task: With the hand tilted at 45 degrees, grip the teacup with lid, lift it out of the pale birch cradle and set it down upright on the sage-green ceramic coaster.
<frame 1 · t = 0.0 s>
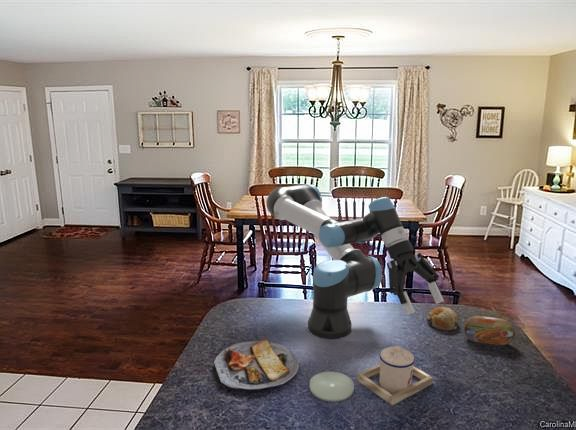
hand: (426, 308, 131), 15 cm above the kitchen counter, tool tilted 35°, fingers open, 13 cm apart
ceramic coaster: (331, 387, 118), on the kitchen counter
food plate: (256, 369, 128), on the kitchen counter
wooden cradle: (394, 382, 121), on the kitchen counter
tin: (487, 342, 142), on the kitchen counter
bread roll: (441, 324, 154), on the kitchen counter
teacup with lid: (394, 382, 121), resting in wooden cradle
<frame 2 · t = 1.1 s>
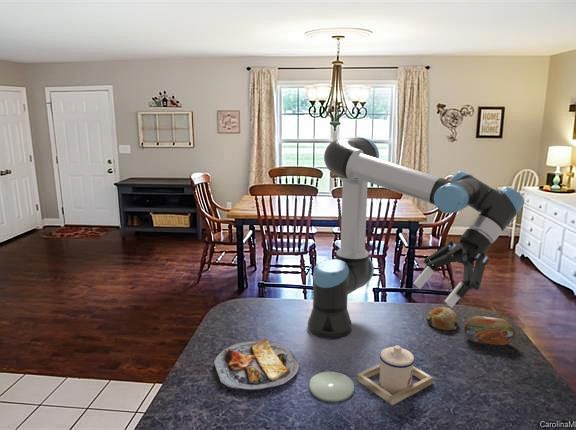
hand: (431, 294, 119), 24 cm above the kitchen counter, tool tilted 45°, fingers open, 13 cm apart
nothing on the kitchen counter moved.
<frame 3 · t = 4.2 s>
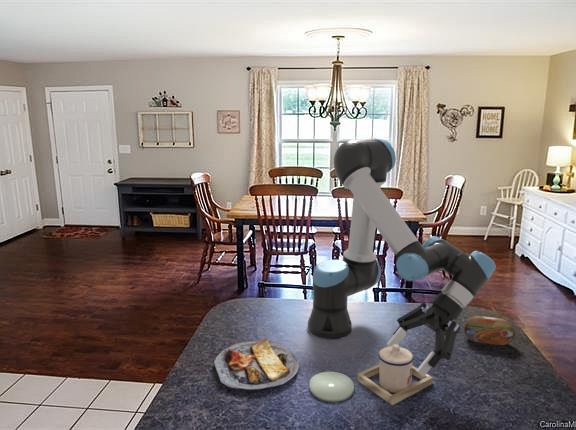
hand: (403, 360, 119), 7 cm above the kitchen counter, tool tilted 45°, fingers open, 13 cm apart
teacup with lid: (394, 382, 121), resting in wooden cradle, touching gripper
everything else where it was.
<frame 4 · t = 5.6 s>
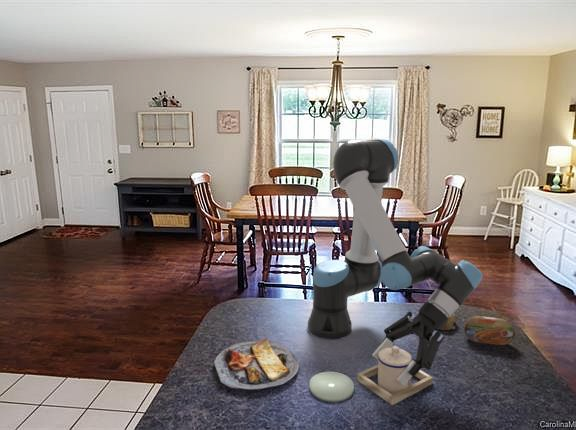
hand: (387, 369, 119), 4 cm above the kitchen counter, tool tilted 45°, fingers closed on teacup with lid, 12 cm apart
teacup with lid: (391, 383, 120), resting in wooden cradle, touching gripper
everything else where it was.
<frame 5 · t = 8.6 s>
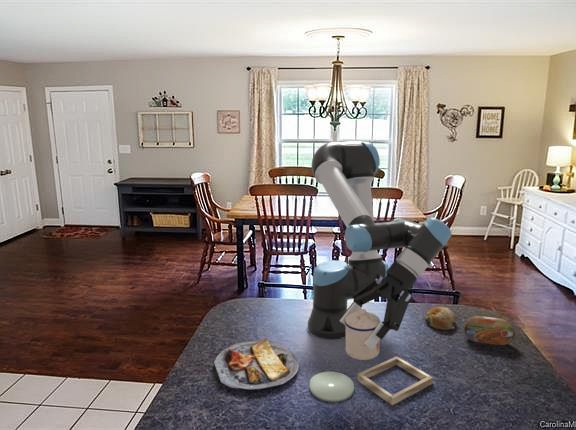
hand: (354, 334, 113), 17 cm above the kitchen counter, tool tilted 45°, fingers closed on teacup with lid, 12 cm apart
teacup with lid: (360, 349, 115), point 12 cm above the kitchen counter, touching gripper
everything else where it was.
when the fingers open (7 cm above the kitchen counter, at t = 11.8 s): teacup with lid drops 1 cm, resting on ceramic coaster.
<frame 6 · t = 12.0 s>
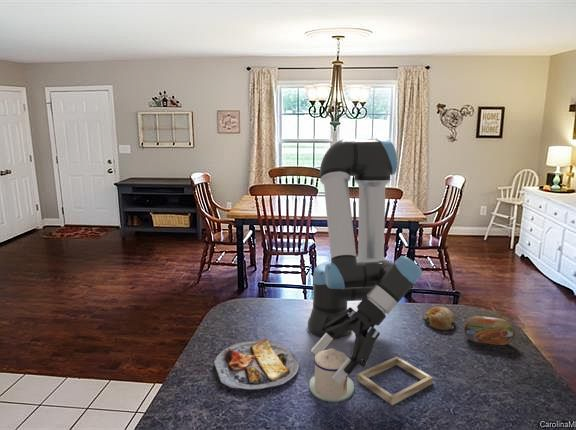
hand: (324, 366, 116), 7 cm above the kitchen counter, tool tilted 45°, fingers open, 13 cm apart
teacup with lid: (329, 386, 117), point 1 cm above the kitchen counter, touching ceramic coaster
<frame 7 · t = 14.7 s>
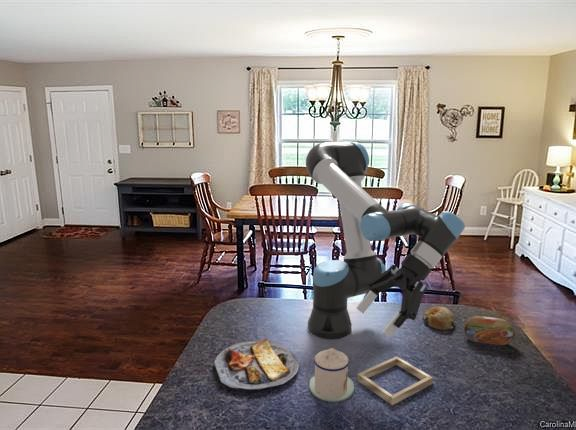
hand: (372, 322, 118), 17 cm above the kitchen counter, tool tilted 40°, fingers open, 13 cm apart
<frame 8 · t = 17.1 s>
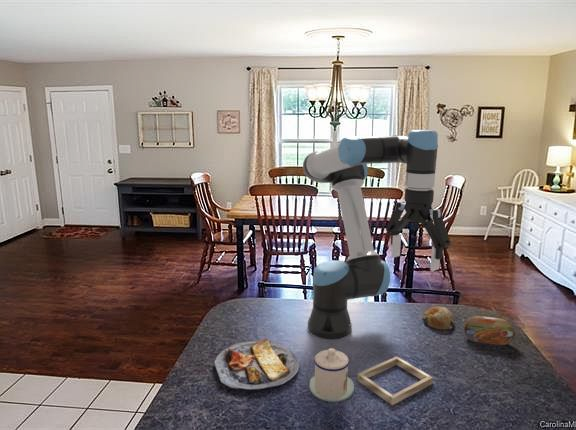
hand: (414, 262, 122), 32 cm above the kitchen counter, tool pointing down, fingers open, 13 cm apart
at the end: teacup with lid inside the target area on the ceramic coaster (0.9 cm from its centre), point 0.8 cm above the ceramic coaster's base; teacup with lid tilted 0°; the gripper is holding nothing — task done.
